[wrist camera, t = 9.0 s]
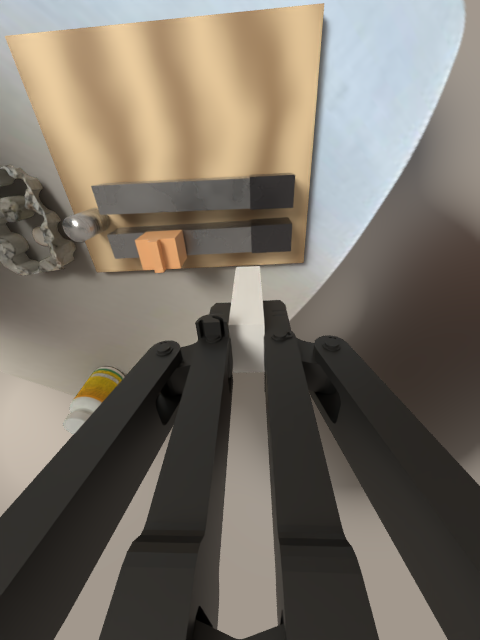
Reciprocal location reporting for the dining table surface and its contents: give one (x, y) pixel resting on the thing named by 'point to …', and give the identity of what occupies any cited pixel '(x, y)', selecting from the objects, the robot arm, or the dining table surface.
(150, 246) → the tab
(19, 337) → the dining table surface
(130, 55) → the board
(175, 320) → the dining table surface
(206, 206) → the bar
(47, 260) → the grey lumpy stone piece
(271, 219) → the tongs fixed
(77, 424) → the supplement bottle
